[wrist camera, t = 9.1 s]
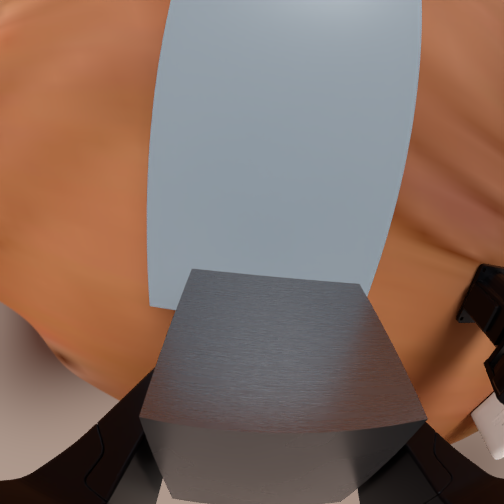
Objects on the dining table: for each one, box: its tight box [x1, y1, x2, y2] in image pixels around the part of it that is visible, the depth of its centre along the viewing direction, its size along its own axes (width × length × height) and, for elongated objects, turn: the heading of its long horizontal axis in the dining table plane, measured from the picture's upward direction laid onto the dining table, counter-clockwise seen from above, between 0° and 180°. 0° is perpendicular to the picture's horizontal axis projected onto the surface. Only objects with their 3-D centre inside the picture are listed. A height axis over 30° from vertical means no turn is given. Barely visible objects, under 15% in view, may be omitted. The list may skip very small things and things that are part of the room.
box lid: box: [147, 0, 422, 310], centre depth 12 cm, size 12×22×1 cm, turn 173°
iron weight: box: [139, 269, 427, 504], centre depth 7 cm, size 5×5×5 cm
